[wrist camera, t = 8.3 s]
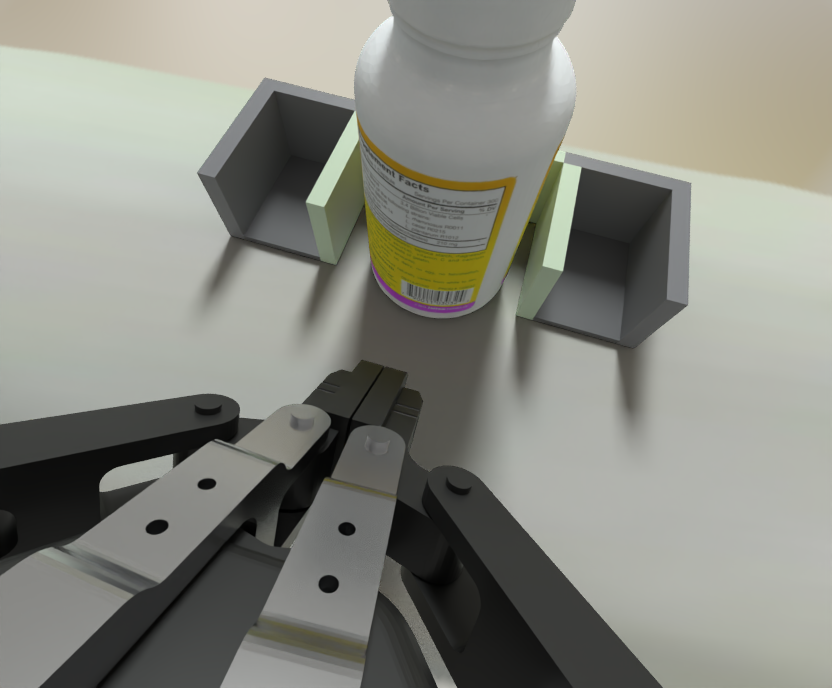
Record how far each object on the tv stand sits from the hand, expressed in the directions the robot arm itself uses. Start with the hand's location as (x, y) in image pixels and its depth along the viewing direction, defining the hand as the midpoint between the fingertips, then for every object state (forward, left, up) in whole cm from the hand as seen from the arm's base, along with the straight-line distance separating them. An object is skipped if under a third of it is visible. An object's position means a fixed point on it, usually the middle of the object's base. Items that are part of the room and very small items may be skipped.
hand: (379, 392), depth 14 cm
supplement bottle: (0, +8, -5) cm, 10 cm away
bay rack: (0, +10, -5) cm, 11 cm away
